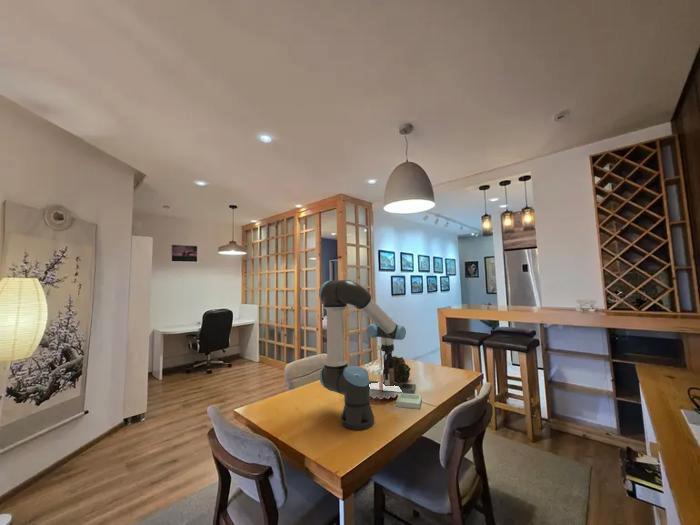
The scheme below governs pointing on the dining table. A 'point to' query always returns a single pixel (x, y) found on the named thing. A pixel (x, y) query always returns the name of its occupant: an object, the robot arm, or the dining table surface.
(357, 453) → the dining table surface
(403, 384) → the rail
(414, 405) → the tray
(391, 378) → the block
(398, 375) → the rock
